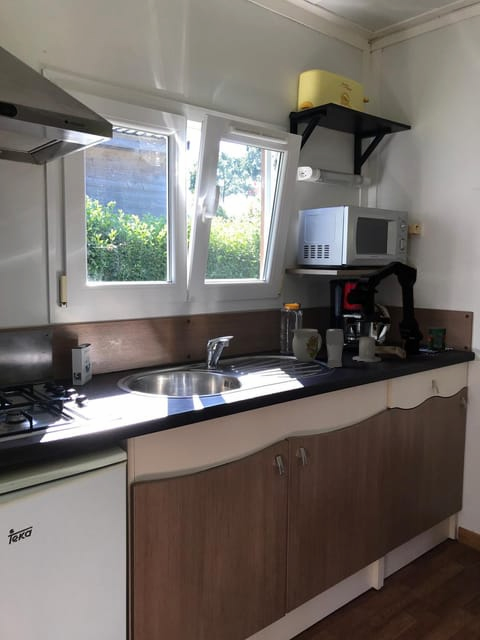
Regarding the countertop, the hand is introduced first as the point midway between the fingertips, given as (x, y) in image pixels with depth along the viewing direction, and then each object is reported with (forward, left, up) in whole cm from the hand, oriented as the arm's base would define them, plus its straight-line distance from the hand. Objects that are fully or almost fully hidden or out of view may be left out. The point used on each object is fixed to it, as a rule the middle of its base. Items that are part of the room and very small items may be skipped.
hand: (366, 340), depth 237 cm
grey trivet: (0, 0, -8) cm, 9 cm away
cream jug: (0, +1, -8) cm, 8 cm away
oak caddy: (-10, -10, -8) cm, 17 cm away
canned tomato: (-38, -26, -9) cm, 47 cm away
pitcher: (+26, +2, -9) cm, 27 cm away
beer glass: (+16, +16, -9) cm, 24 cm away
